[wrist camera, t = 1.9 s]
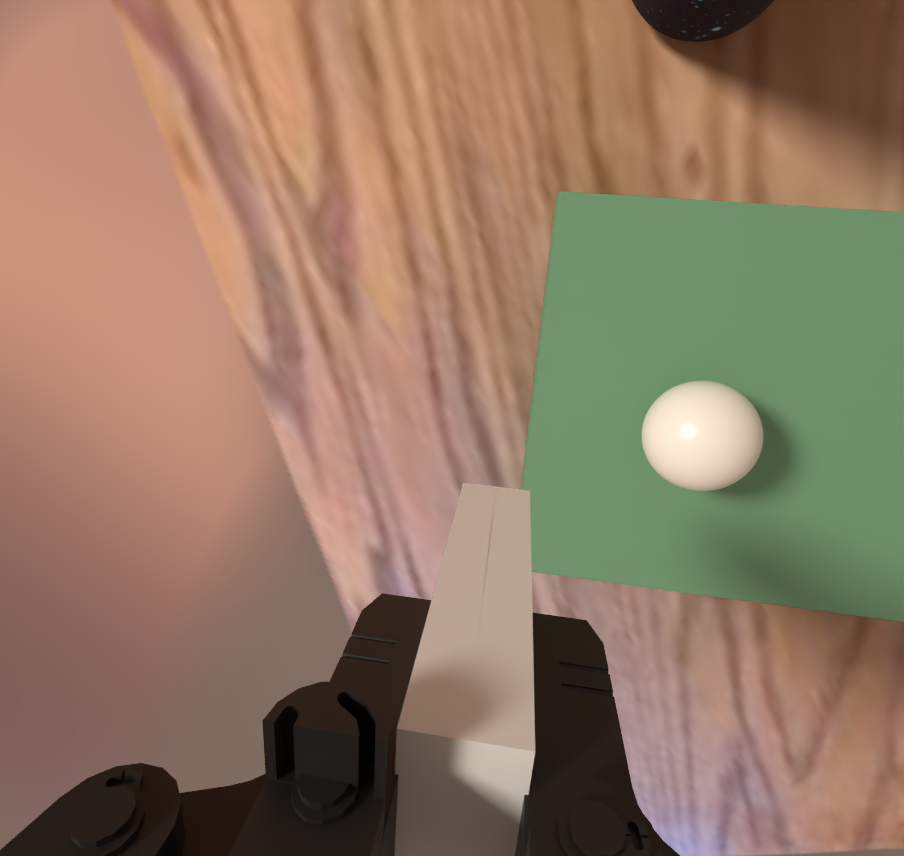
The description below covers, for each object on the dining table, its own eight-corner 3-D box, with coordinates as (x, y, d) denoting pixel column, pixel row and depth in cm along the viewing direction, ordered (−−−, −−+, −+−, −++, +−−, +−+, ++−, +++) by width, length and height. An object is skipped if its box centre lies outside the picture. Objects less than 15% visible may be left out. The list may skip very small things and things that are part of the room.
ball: (642, 365, 21) (667, 391, 17) (749, 374, 20) (800, 404, 17) (624, 459, 22) (644, 503, 18) (724, 470, 22) (766, 517, 18)
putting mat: (556, 197, 21) (559, 191, 19) (1362, 247, 19) (1484, 247, 16) (514, 541, 27) (512, 569, 24) (1136, 621, 24) (1202, 662, 22)
